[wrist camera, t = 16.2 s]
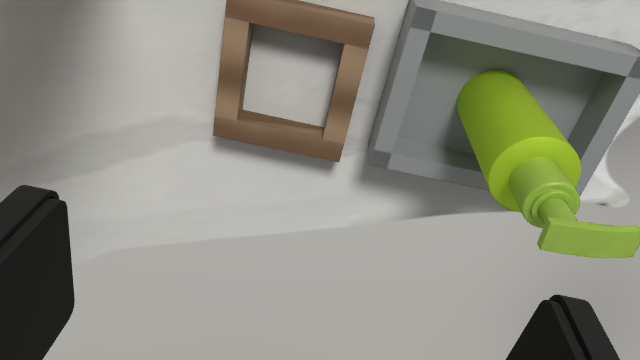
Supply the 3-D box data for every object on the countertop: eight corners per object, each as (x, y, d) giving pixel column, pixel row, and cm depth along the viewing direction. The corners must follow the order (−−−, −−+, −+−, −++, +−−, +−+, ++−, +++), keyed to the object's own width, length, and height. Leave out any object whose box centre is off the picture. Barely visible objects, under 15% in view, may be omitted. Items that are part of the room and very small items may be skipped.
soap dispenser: (525, 135, 46) (623, 289, 29) (450, 127, 46) (502, 275, 29) (546, 74, 43) (668, 205, 26) (465, 65, 43) (534, 190, 26)
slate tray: (411, -7, 41) (416, 6, 37) (630, 44, 42) (657, 61, 38) (368, 142, 48) (369, 164, 45) (556, 182, 49) (572, 208, 45)
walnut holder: (234, -15, 42) (227, -9, 40) (373, 17, 42) (374, 25, 40) (219, 124, 49) (213, 135, 46) (340, 150, 49) (339, 162, 47)
